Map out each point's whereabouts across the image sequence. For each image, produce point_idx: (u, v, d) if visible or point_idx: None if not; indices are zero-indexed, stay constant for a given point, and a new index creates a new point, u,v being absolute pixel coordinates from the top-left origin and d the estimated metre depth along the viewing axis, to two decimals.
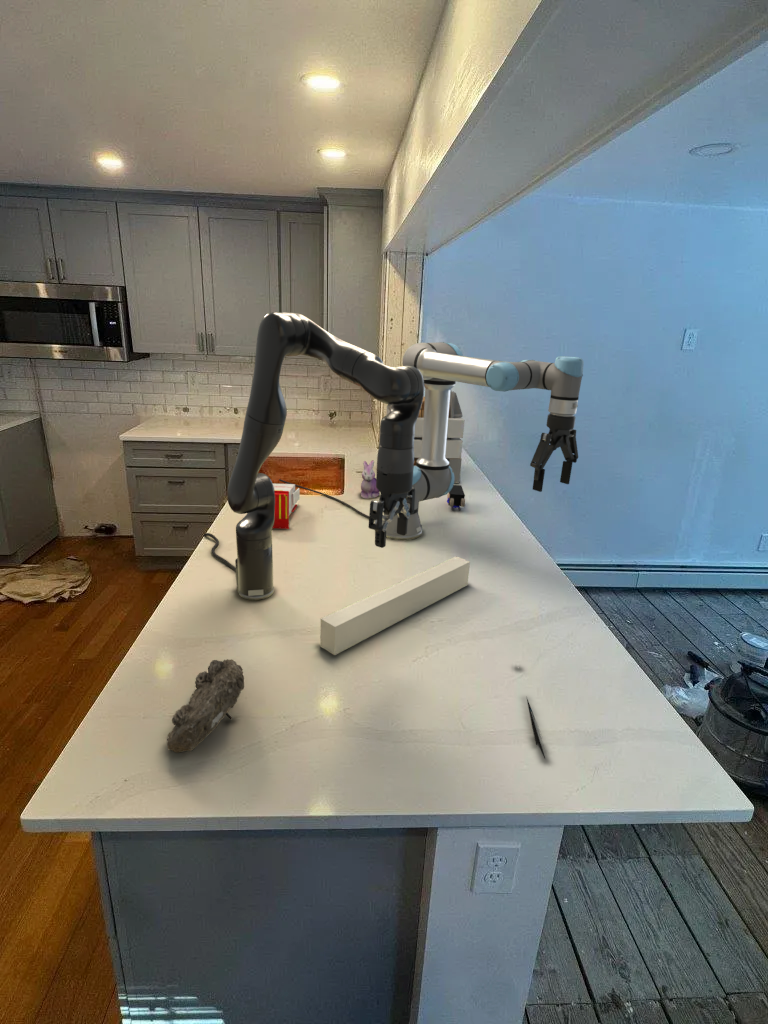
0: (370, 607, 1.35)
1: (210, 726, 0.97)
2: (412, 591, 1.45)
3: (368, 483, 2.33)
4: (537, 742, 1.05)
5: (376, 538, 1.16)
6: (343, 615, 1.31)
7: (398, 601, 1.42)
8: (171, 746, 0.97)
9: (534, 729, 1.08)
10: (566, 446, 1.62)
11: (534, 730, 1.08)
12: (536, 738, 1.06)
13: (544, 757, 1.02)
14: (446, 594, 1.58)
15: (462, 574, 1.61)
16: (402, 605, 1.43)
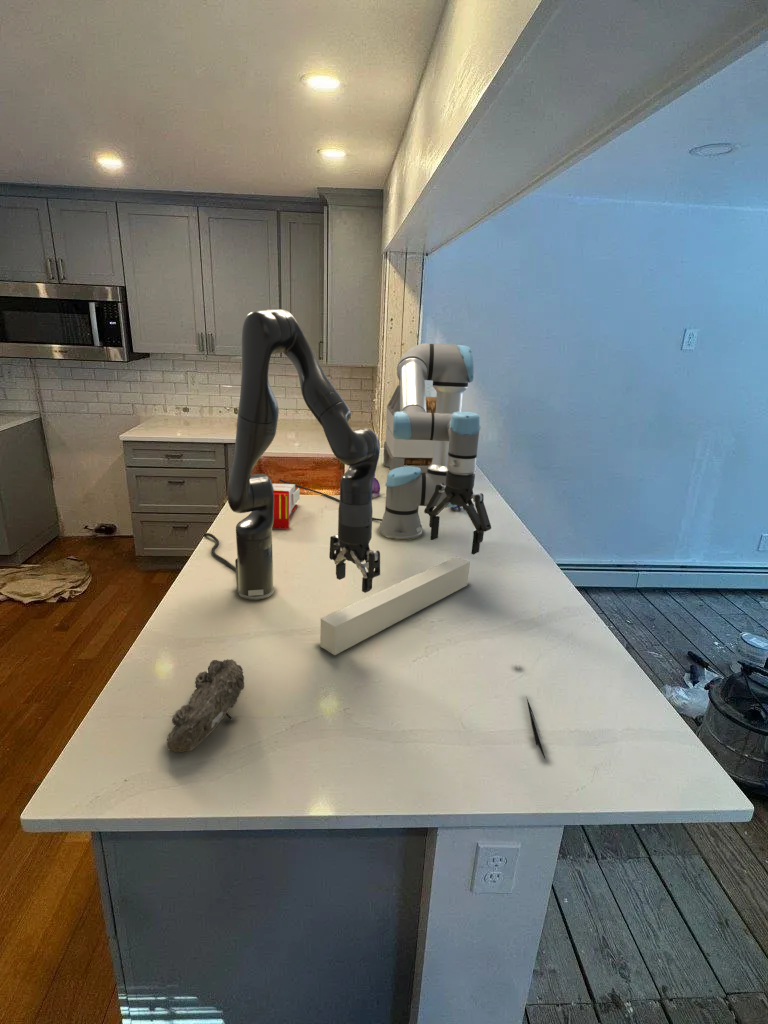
0: (370, 607, 1.35)
1: (210, 726, 0.97)
2: (412, 591, 1.45)
3: None
4: (537, 742, 1.05)
5: (368, 585, 1.27)
6: (343, 615, 1.31)
7: (398, 601, 1.42)
8: (171, 746, 0.97)
9: (534, 729, 1.08)
10: None
11: (534, 730, 1.08)
12: (536, 738, 1.06)
13: (544, 757, 1.02)
14: (446, 594, 1.58)
15: (462, 574, 1.61)
16: (402, 605, 1.43)
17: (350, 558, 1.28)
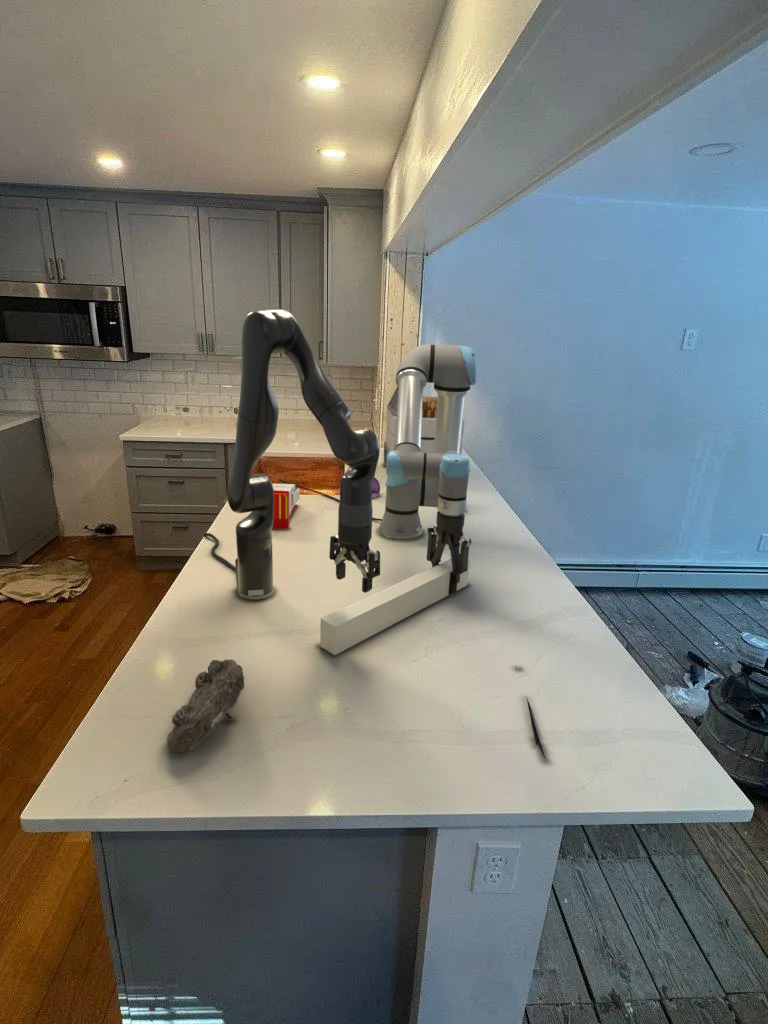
0: (370, 607, 1.35)
1: (210, 726, 0.97)
2: (412, 591, 1.45)
3: None
4: (537, 742, 1.05)
5: (368, 585, 1.27)
6: (343, 615, 1.31)
7: (398, 601, 1.42)
8: (171, 746, 0.97)
9: (534, 729, 1.08)
10: None
11: (534, 730, 1.08)
12: (536, 738, 1.06)
13: (544, 757, 1.02)
14: (446, 594, 1.58)
15: (462, 574, 1.61)
16: (402, 605, 1.43)
17: (350, 558, 1.28)
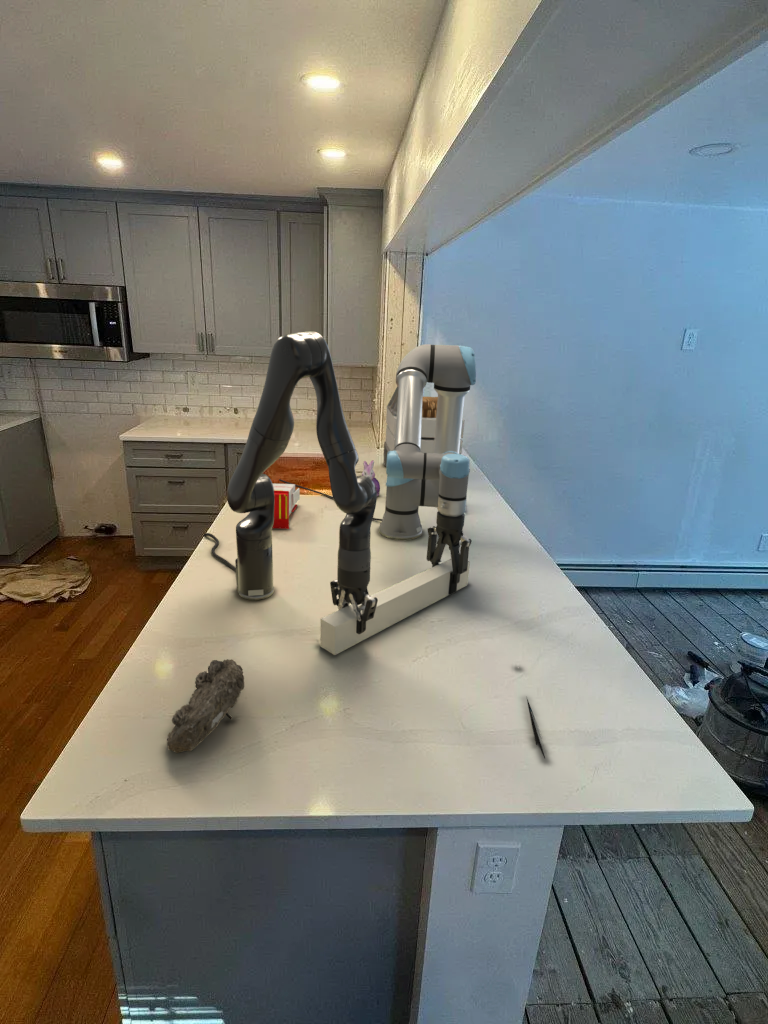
0: None
1: (210, 726, 0.97)
2: (412, 590, 1.45)
3: None
4: (537, 742, 1.05)
5: (362, 627, 1.31)
6: (343, 615, 1.31)
7: (398, 601, 1.42)
8: (171, 746, 0.97)
9: (534, 729, 1.08)
10: None
11: (534, 730, 1.08)
12: (536, 738, 1.06)
13: (544, 757, 1.02)
14: (446, 594, 1.58)
15: (462, 574, 1.61)
16: (402, 605, 1.43)
17: (349, 600, 1.32)
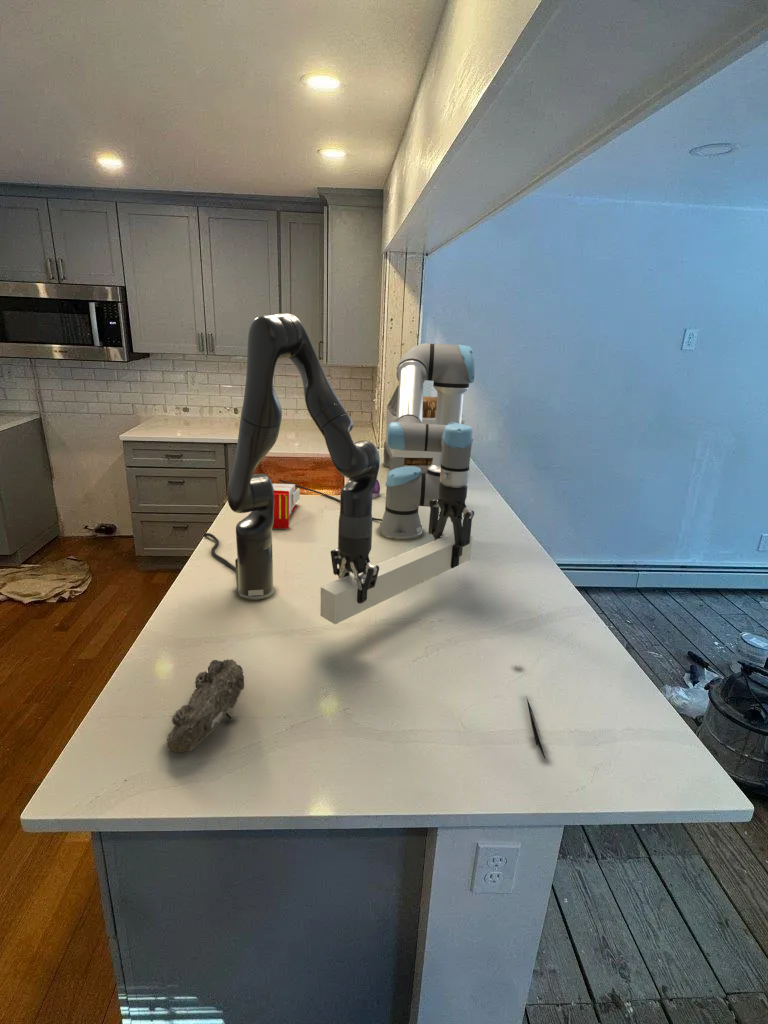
0: None
1: (210, 726, 0.97)
2: (414, 562, 1.42)
3: None
4: (537, 742, 1.05)
5: (363, 596, 1.29)
6: (344, 584, 1.29)
7: (399, 572, 1.39)
8: (171, 746, 0.97)
9: (534, 729, 1.08)
10: None
11: (534, 730, 1.08)
12: (536, 738, 1.06)
13: (544, 757, 1.02)
14: (448, 568, 1.55)
15: (465, 548, 1.59)
16: (404, 576, 1.41)
17: (350, 569, 1.29)
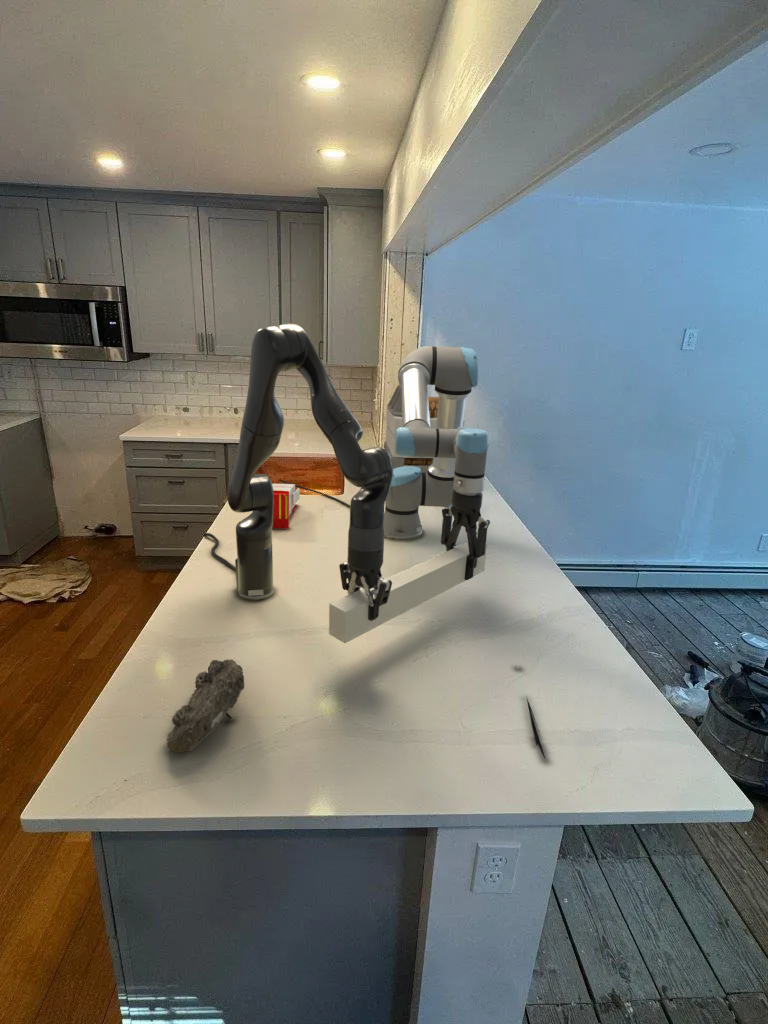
0: None
1: (210, 726, 0.97)
2: (427, 575, 1.34)
3: None
4: (537, 742, 1.05)
5: (375, 613, 1.21)
6: (354, 600, 1.20)
7: (412, 586, 1.31)
8: (171, 746, 0.97)
9: (534, 729, 1.08)
10: None
11: (534, 730, 1.08)
12: (536, 738, 1.06)
13: (544, 757, 1.02)
14: (462, 580, 1.47)
15: (479, 559, 1.51)
16: (416, 590, 1.33)
17: (360, 584, 1.21)
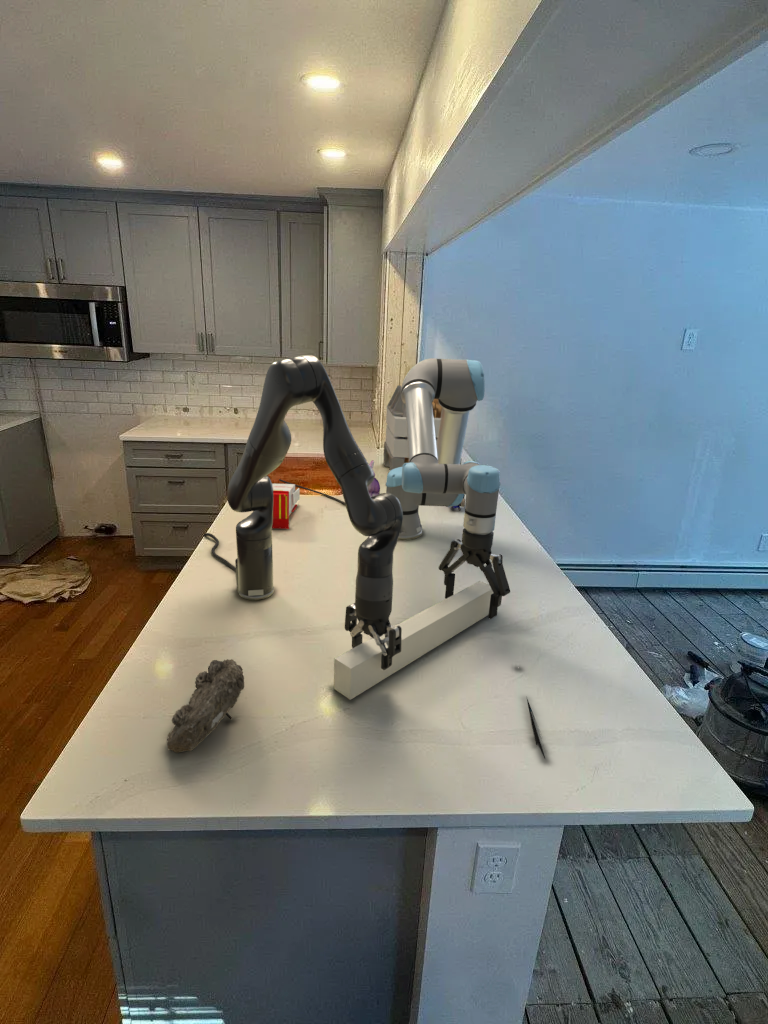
0: None
1: (210, 726, 0.97)
2: (435, 623, 1.31)
3: None
4: (537, 742, 1.05)
5: (388, 662, 1.16)
6: (360, 654, 1.17)
7: (419, 636, 1.27)
8: (171, 746, 0.97)
9: (534, 729, 1.08)
10: None
11: (534, 730, 1.08)
12: (536, 738, 1.06)
13: (544, 757, 1.02)
14: (470, 624, 1.43)
15: (487, 601, 1.47)
16: (424, 639, 1.29)
17: (368, 632, 1.17)
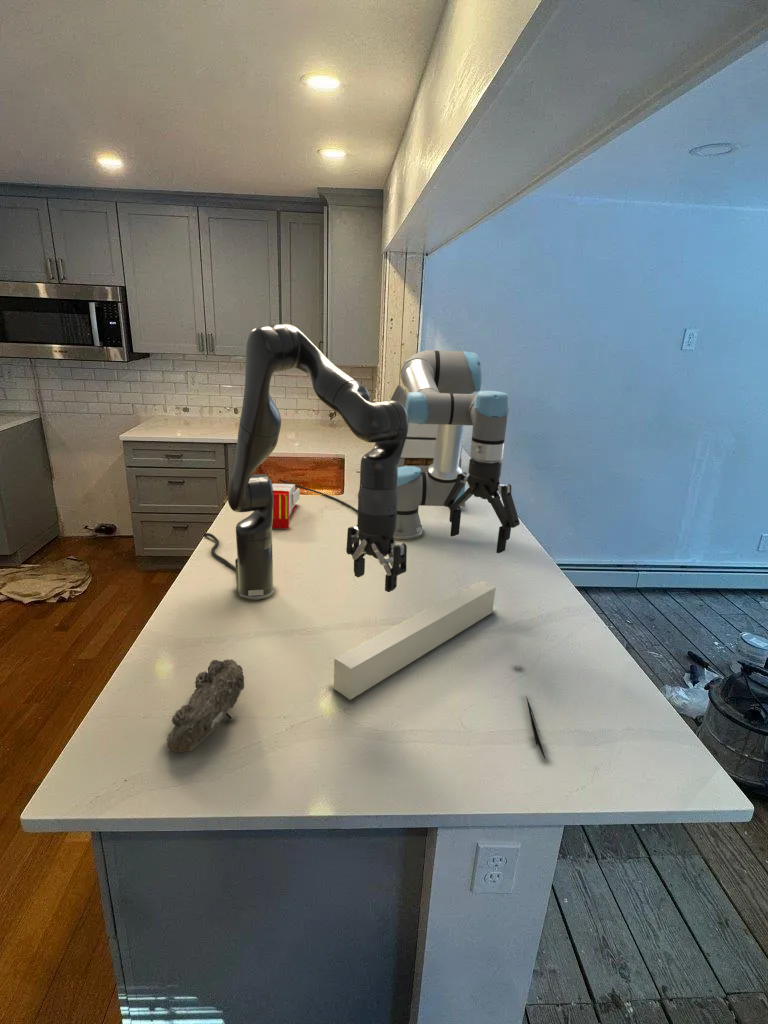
0: (389, 643, 1.21)
1: (210, 726, 0.97)
2: (435, 623, 1.31)
3: None
4: (537, 742, 1.05)
5: (393, 583, 1.09)
6: (360, 654, 1.17)
7: (419, 636, 1.27)
8: (171, 746, 0.97)
9: (534, 729, 1.08)
10: None
11: (534, 730, 1.08)
12: (536, 738, 1.06)
13: (544, 757, 1.02)
14: (470, 624, 1.43)
15: (487, 601, 1.47)
16: (424, 639, 1.29)
17: (371, 552, 1.11)
